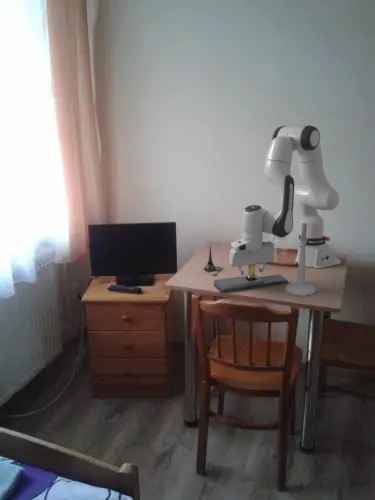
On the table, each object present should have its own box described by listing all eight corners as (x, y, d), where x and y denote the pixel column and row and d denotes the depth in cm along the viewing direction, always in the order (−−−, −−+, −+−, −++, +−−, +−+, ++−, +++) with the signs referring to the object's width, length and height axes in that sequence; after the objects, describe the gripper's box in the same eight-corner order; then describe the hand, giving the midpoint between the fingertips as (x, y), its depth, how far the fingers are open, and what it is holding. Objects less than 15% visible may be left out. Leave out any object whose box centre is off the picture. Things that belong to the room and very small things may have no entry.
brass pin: (252, 282, 201) (253, 261, 198) (255, 285, 198) (256, 264, 195) (246, 283, 200) (247, 262, 197) (249, 286, 197) (249, 264, 194)
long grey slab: (279, 277, 207) (279, 271, 206) (287, 283, 200) (287, 277, 199) (214, 285, 199) (214, 280, 198) (220, 292, 191) (220, 286, 190)
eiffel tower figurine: (215, 277, 210) (215, 250, 206) (195, 275, 213) (195, 248, 209) (225, 267, 223) (226, 241, 219) (206, 265, 227) (206, 239, 223)
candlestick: (284, 294, 188) (288, 225, 179) (285, 283, 200) (288, 218, 191) (316, 297, 185) (321, 226, 176) (315, 285, 197) (320, 219, 188)
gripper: (270, 238, 199) (269, 268, 203) (227, 243, 194) (227, 273, 198) (277, 242, 193) (275, 272, 198) (233, 247, 188) (232, 278, 192)
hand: (251, 273), depth 198 cm, fingers open, 8 cm apart
